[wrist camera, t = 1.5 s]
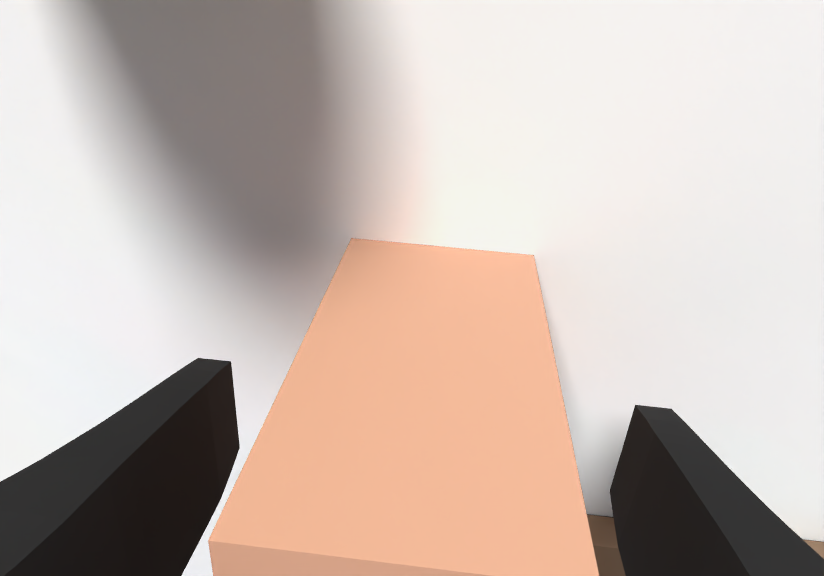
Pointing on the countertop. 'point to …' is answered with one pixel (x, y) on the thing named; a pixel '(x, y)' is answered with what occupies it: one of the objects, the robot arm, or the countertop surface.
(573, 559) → the peg
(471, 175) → the countertop surface
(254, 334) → the countertop surface
